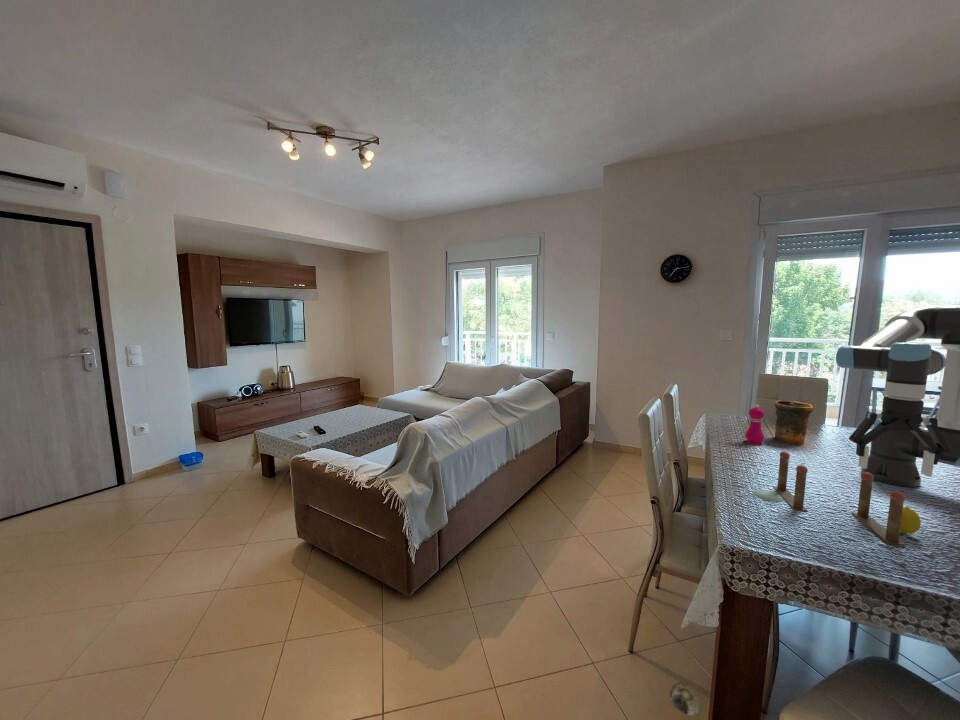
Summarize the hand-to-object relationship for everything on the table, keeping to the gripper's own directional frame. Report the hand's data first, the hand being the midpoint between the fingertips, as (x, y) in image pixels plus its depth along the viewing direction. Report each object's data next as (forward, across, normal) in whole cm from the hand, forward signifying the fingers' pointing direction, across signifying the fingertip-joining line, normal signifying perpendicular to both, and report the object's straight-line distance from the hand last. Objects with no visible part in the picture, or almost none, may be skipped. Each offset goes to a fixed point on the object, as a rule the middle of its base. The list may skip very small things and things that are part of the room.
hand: (893, 471), depth 106 cm
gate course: (+18, +11, -5) cm, 21 cm away
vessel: (+16, -3, -80) cm, 82 cm away
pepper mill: (+17, +14, -71) cm, 74 cm away
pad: (+18, +25, -11) cm, 33 cm away
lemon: (+18, -3, +2) cm, 18 cm away
